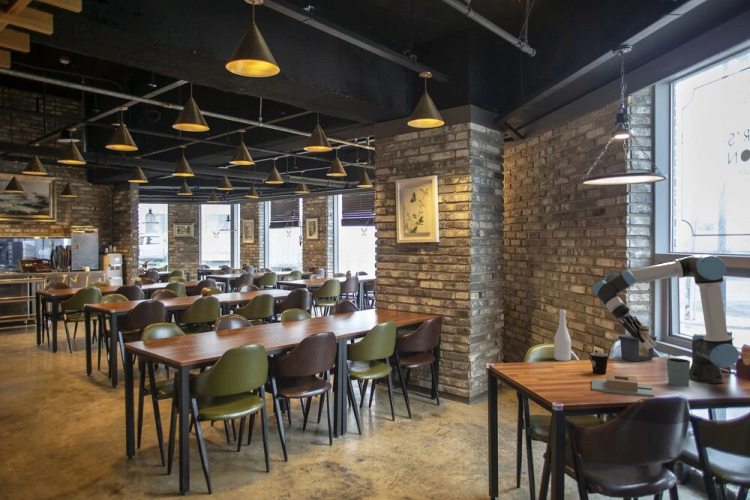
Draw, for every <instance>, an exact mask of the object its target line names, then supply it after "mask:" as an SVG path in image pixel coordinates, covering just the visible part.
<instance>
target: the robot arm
mask: <svg viewBox="0 0 750 500" xmlns="http://www.w3.org/2000/svg"><path fill="white" fill-rule="evenodd" d="M726 272H727V265H726V262H724V260H723V259H722V258H720V257H718V256H716V255H713V254H693V255H690V256H686V257H682V258H677V259H674V260H673V261H671V262H665V263H661V264H656V265H650V266H645V267H638V268H633V269H632V268H631V269H628V270H626V269H625V270H623V271H617V272H613V271H612V272H608V273H607V274H605V276H604V280H603V279H602V280H599V281H597V282H596V283H595V284H594V285H593V286H592V291H593V293H594V294H595V295H596V297H597V298H598V299H599V300H600V301H601V303H602V304H604V306H605V307H606V308H607V310H608V311H610V313H611V314H612V315H613V316H614V318H616V319H619V320H618V323H619V324H620V325H622V327H623V328H625V330H626V331H627V332H628V334H631V335H632V336H633V337H635V339H638V340H639V341H640V342H641V343H642V344H643V346H644V347H645V348H646V349H647V350H648V349H649V348H652V349H653V348H655V347H657V346H658V345H657V343H656V341H655V342H654V341H653V340H652V339H651V338H650V337H649V342H648V341H647V340H646V338H645V337H644V336H643V335H641V334H640V333H639V326H640V325H643V323H641V321H640V320H639V319H638V317H637V316H636V315H634V316H633V315H632V314H631V313H630V308H629V306H628V305H626V304H625V302H624V301H623V300H622V299H621V297H619V296H618V294H620V293H621V292H622V293H623V291H625V290H626V289H628V288H630V287H632V286H633V285H635V284H641V283H647V282H652V281H659V280H662V279H663V280H664V279H669V278H675V277H678V279H679V278H680V279H681V278H694V284H695V285H697V286H698V287H699V293H700V302H701V307H702V313H703V314H702V316H703V320H704V328H705V333H706V334H694V335H692V339H691V345H692V346H691V364H690V371H689V378H690V379H689V380H691V379H692V381H695V380H696V381H695V382H699V381H700V383H705V382H707V384H723V383H724V376H723V375H724V374H723V372H722V370H721V368H730V367H732V366H734V365H735V364H736V363H737V362H738V360H739V358H740V353H739V351H738V349H737V347H735V346H734V343H733V337H732V336H731V335H729V334H728V329H727V322H726V321H727V320H726V315H725V308H724V301H723V293H722V287H721V285H722V284H723V283H724V275H725V274H726ZM640 335H641V336H640Z"/></svg>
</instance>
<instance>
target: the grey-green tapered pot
mask: <svg viewBox="0 0 750 500" xmlns="http://www.w3.org/2000/svg"><path fill="white" fill-rule="evenodd" d="M690 367H691V361H690V360H689V359H686V358H685V359H684V358H676V357H675V358H674V357H668V358H666V368H667V370H666V371H667V379H668V382H667V383H668V384H669V385H671V386H674V385H675V386H674V387H681V386H686V387H689V384H690V382H689V381H690V379H689V371H690Z"/></svg>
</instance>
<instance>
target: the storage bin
mask: <svg viewBox="0 0 750 500" xmlns="http://www.w3.org/2000/svg"><path fill="white" fill-rule="evenodd" d="M617 336H618V337H617V339H618V340H620V342H619V343H620V352H621V354H620V355H621V359H622V360H625V361H629V362H642V361H651V359H652V360H653V358H654V357H653V356H654V348H655V347H654V348H653V349H652V348H649V352H648V357H643V356H639V340H638V339H635V337H633V336H632V335H631V334H630V333H628V334H618V335H617ZM649 337H650V338H651V339H652V340H653V341H654V342H655V343H656V341H657V340H658V339H657V338H658V336H657V335H656V336H655V335H650V334H649Z"/></svg>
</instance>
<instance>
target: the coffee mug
mask: <svg viewBox="0 0 750 500" xmlns="http://www.w3.org/2000/svg"><path fill="white" fill-rule="evenodd" d="M588 356H589V357H588V358H589V360H590V363H591V366H592V373H593V374H595V375H606V374H607V367H608V359H609V355H608V354H607V353H605V352H604V353H603V352H591V353H590V355H588Z"/></svg>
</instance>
